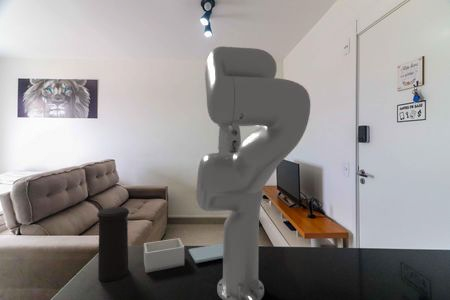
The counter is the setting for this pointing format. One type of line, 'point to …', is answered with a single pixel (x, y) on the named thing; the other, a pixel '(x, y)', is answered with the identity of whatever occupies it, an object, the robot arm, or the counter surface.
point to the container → (113, 243)
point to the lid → (207, 253)
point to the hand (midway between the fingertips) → (228, 170)
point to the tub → (163, 254)
